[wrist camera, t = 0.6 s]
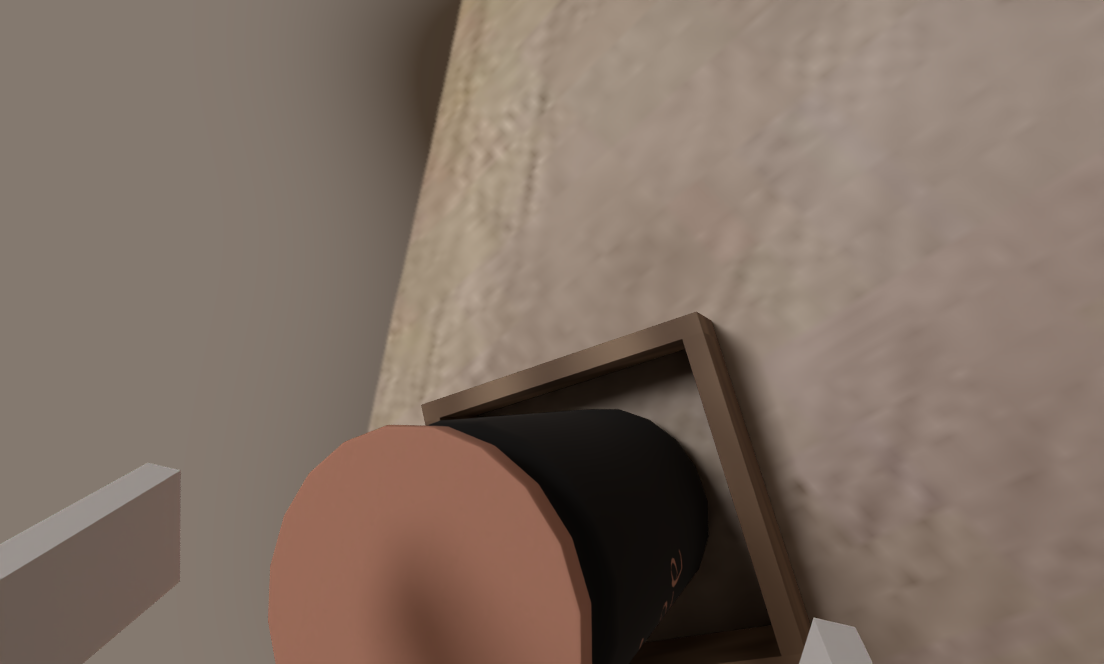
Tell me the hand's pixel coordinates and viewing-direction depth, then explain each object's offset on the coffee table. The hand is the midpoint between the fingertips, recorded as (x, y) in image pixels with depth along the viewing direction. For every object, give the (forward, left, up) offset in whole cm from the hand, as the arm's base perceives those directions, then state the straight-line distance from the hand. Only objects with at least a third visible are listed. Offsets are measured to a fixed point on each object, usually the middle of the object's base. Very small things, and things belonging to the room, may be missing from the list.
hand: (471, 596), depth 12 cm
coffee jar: (+5, +1, -21) cm, 22 cm away
